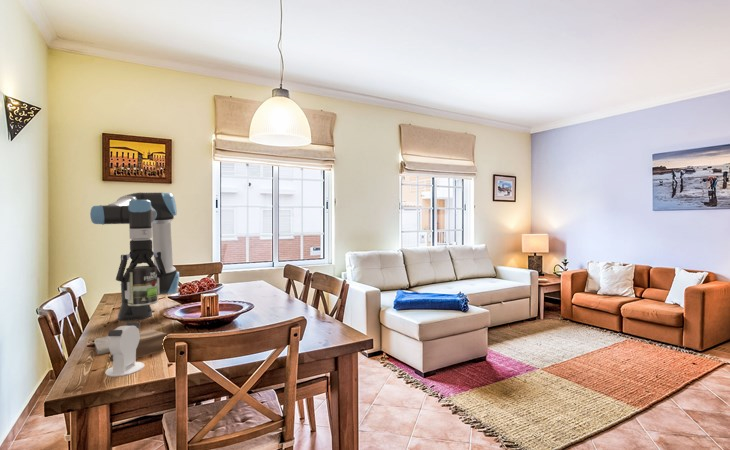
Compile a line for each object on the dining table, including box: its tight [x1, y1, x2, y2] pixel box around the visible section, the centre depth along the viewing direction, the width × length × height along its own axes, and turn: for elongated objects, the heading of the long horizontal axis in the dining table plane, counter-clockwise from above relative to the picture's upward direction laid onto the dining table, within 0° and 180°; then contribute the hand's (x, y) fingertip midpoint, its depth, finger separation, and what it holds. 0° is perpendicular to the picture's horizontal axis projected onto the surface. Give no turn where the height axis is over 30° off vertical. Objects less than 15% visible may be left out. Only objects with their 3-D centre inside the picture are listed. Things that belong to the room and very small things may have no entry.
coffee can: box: [125, 265, 159, 306], centre depth 146 cm, size 10×10×14 cm
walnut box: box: [136, 328, 168, 359], centre depth 146 cm, size 12×12×6 cm
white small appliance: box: [104, 321, 145, 378], centre depth 128 cm, size 12×11×15 cm
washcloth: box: [93, 335, 110, 355], centre depth 152 cm, size 12×18×3 cm, turn 40°
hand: (142, 296), depth 146 cm, fingers closed on coffee can, 10 cm apart
